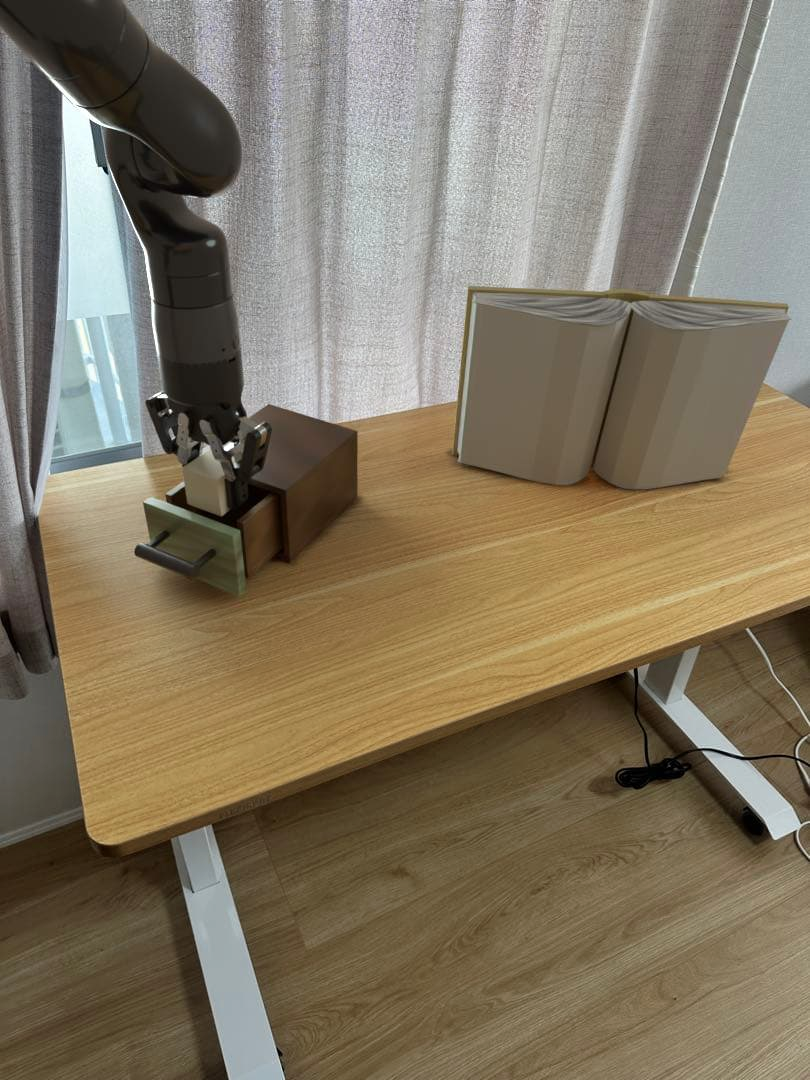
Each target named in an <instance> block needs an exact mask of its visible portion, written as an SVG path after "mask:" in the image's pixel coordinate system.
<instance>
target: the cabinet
mask: <svg viewBox="0 0 810 1080" xmlns="http://www.w3.org/2000/svg"><path fill="white" fill-rule="evenodd" d="M248 418H249V419H251V420H252V421H254V422H255V423H257V424H259V425H260V424H261V423H263V422H267V423H269V424H270V425H271V427H272V432H271V437H270V441H269V445H268V450H267V454H266V459H265V463H264V468H263V469H262V470H261V471H260V472H258V473H256V474H255V475H254V476H252V477H251V479H249V480H248V481H247V483H249V484H252V485H255V486H258V487H260V488H263V489H266V490H269V491H272V492H275V493H277V494H280V498H281V514H282V529H283V544H284V547H283V548H282V549H281V550H280V551H279V552H277V553H276V554H275V555H274V556H273V557H275V558H277V559H280V560H283V561H285V562H287V563H292V562H293V560H295V559H296V558H297V557H299V555H301V553H302V552H303V551H305V549H306V548H307V547H308V546H310V545H311V544H312V543H313V542H314V541H315V540H316V539H317V538H318V537H319V536H320V535H321V534H323V532H324V531H325V530H326V529H328V527H330V526H331V525H332V524H333V523H334V522H335V521H336V520H337V519H338V518H339V517H340V516H341V515H342V514H343V513H345V511H347V509H348V508H349V507H351V506H352V505H353V504H354V503H355V502H356V501H357V500H358V452H359V451H358V450H359V449H358V446H359V445H358V444H359V443H358V440H359V439H358V438H359V437H358V436H359V435H358V434H359V433H358V430H355V429H353V428H349V427H346V426H343V425H339V424H336V423H333V422H330V421H326V420H323V419H320V418H316V417H313V416H310V415H306V414H303V413H300V412H296V411H294V410H290V409H287V408H284V407H283V408H282V407H280V406H278V405H274V404H270V403H268V404H267V405H265V406H264V407H262V408H260V409H259V410H258V411H257V412H254V413H253V414H252V415H250V416H248ZM241 433H242V431H241ZM242 436H243V434H242ZM229 444H230V442H228V443H227V444H225V445H223V447H226V446H227V445H229ZM209 449H211V448H210V446H209V445H207V444H206V446H205V447H204V446H203V450H202V453H201V454H200V455H202V454H203V453H205V452H206V451H208V450H209ZM200 455H199V456H200ZM233 457H234V456H233Z"/></svg>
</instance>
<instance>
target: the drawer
mask: <svg viewBox="0 0 810 1080" xmlns="http://www.w3.org/2000/svg"><path fill="white" fill-rule="evenodd" d="M247 486H248V488H247V489H248V496H249V497H248V499H247V501H245V502H244V504H242V505H241V506H240V507H239V508H237V509H236V510H232V509H230V510H229V511H228V512H227V513H225V514H224V515H223V516H219V515H216V514H213V513H211V512H208V511H205V510H203V509H200V508H197V507H194V506H192V505H189V504H188V503H187V497H186V490H185V484H184V480H183V481H182V482H180V483H179V484H178V485H176V486H175V487H173V488H171V489H170V490H169V491H168V492H166V493H165V500H166V501H163V500H161V499H158V498H155V497H153V496H150V497H148V498H147V499H145V500H144V501H142V505H143V510H144V517H145V520H146V526H147V531H148V536H149V541H148V542H147V543H144V542H139V543H137V544H136V546H135V548H134V550H133V553H134V556H135V557H136V558H138V559H142V560H144V561H146V562H148V563H151V564H154V565H156V566H158V567H161V568H163V569H166V570H168V571H170V572H173V573H174V574H178V575H180V576H182V577H184V578H187V579H190V580H195V579H196V580H197V581H200V582H202V583H205V584H208V585H211V586H213V587H215V588H217V589H220V590H222V591H225V592H226V593H229V594H231V595H234V596H237V597H239V598H240V597H241V596H242V595H243V594H245V592H247V582H246V579H248V580H249V579H250V578H251V577H253V576H254V574H256V573H257V572H258V571H259V570H260V569H261V568H262V567H264V565H266V564H267V563H268V562H269V561H270V560H271V559H272V558H273V557H274V555H275V554H276V553H277V552H279V551H280V550H281V549H282V548H283V547H284V544H283V529H282V514H281V498H280V494H277V493H275V492H272V491H269V490H266V489H263V488H260V487H258V486H255V485H252V484H249V483H247Z"/></svg>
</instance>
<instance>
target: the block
mask: <svg viewBox="0 0 810 1080" xmlns="http://www.w3.org/2000/svg"><path fill="white" fill-rule="evenodd" d="M232 462H233V465H234V464H236V462H235V459H234V457H232ZM181 470H182V477H183V481H184V484H185V490H186V497H187V503H188V504H189V505H192V506H194V507H197V508H200V509H203V510H205V511H208V512H211V513H213V514H216V515H219V516H223V515H224V514H225V513H227V512H228V511H229V510H230V508H228V506H227V498H226V489H225V481H224V479H226V477H225V474H224V472H223V469H222V466H221V464H220V462H219V461H217V460H215V459H214V456H213V453H212V451H211V449H209V450H208V451H206V452H205V453H203V454H202V455H200V456H199V457H198V458H196V459H195V460H193V461H192V462H190V463H189V464H187V465H186V466H184V467H183V468H181Z"/></svg>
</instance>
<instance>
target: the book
mask: <svg viewBox="0 0 810 1080" xmlns="http://www.w3.org/2000/svg"><path fill="white" fill-rule="evenodd" d="M466 293H467V294H466V302H465V312H464V313H465V314H464V324H463V334H462V345H461V354H460V355H461V356H460V364H459V365H460V366H459V376H458V377H459V378H458V386H457V397H456V408H455V418H454V419H455V420H454V428H453V429H454V431H453V438H452V440H453V441H452V448H451V449H452V451H451V455H452V456H456V457H457V456H458V459H457V460H456V463H460V464H464V465H467V466H472V467H475V468H480V469H484V470H488V471H492V472H496V473H499V474H502V475H503V474H504V475H508V476H511V477H514V478H519V479H522V480H526V481H531V482H535V483H539V484H542V485H549V486H550V485H551V486H557V487H558V486H570V485H573V484H576V483H578V482H579V481H581V480H582V479H584V478H585V477H586V476H587V475H588V474H589V472H590V470H591V469H592V470H593V472H594V473H595V474H596V475H597V476H598V477H599V478H601V479H602V480H604V481H605V482H606V483H608V484H610V485H611V486H614V487H616V488H618V489H619V488H620V489H624V490H628V491H629V490H630V491H640V490H642V491H643V490H653V489H659V488H666V487H671V486H678V485H685V484H690V483H696V482H701V481H708V480H715V479H722V478H726V477H728V476H727V474H726V473H727V471H728V469H729V466H730V463H731V461H732V458H733V457H734V454H735V452H736V449H737V446H738V444H739V442H740V440H741V437H742V434H743V433H744V429H745V428H746V425H747V423H748V420H749V418H750V415H751V413H752V410H753V408H754V406H755V403H756V401H757V398H758V396H759V393H760V392H761V389H762V387H763V384H764V381H765V379H766V376H767V374H768V371H769V370H770V366H771V364H772V362H773V360H774V358H775V355H776V353H777V350H778V347H779V345H780V343H781V340H782V338H783V335H784V333H785V330H786V328H787V326H788V324H789V321H790V320H791V321H792V320H793V318H792V317H790V316H789V315H787V313H788V310H789V308H790V306H789V304H788V303H782V302H769V301H756V300H755V301H754V300H742V299H740V300H739V299H727V298H715V297H714V298H713V297H712V298H711V297H700V296H699V297H698V296H685V295H673V294H672V295H669V294H657V293H648V292H645V291H641V290H635V289H628V288H627V289H626V288H613V289H607V290H604V291H598V290H596V291H595V290H575V289H550V288H529V287H528V288H526V287H505V286H504V287H503V286H479V285H467V291H466Z"/></svg>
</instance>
